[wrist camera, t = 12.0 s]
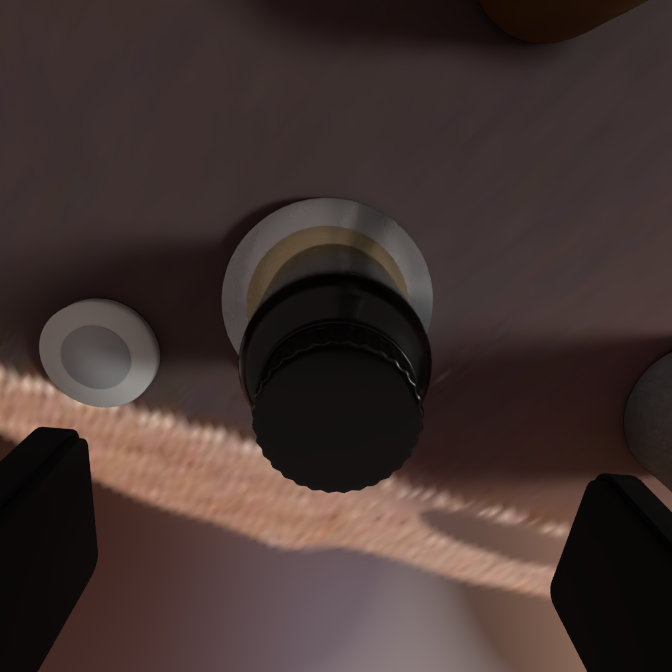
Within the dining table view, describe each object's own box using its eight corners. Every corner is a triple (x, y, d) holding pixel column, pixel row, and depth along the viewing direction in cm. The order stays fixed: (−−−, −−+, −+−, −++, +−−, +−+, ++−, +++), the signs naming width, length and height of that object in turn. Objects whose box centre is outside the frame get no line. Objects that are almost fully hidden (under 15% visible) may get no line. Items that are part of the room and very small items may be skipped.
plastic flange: (44, 292, 25) (31, 298, 24) (159, 304, 25) (151, 310, 24) (54, 394, 27) (42, 404, 25) (160, 403, 27) (153, 413, 26)
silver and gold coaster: (229, 185, 23) (224, 185, 22) (446, 209, 24) (452, 211, 23) (222, 385, 27) (218, 394, 26) (411, 402, 27) (414, 412, 26)
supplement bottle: (409, 352, 25) (476, 503, 14) (285, 379, 25) (251, 546, 14) (384, 224, 23) (442, 278, 11) (250, 256, 23) (174, 338, 12)
